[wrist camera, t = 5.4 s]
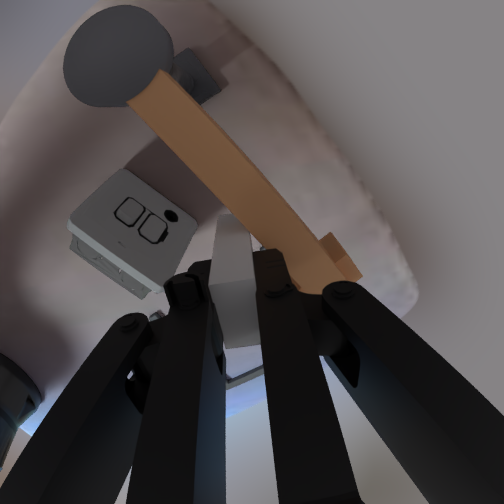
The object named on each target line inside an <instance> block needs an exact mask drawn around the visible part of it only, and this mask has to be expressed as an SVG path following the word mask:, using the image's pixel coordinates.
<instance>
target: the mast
mask: <svg viewBox="0 0 504 504" xmlns="http://www.w3.org/2000/svg"><path fill="white" fill-rule="evenodd" d="M169 75H170V76H171V77H172V78H173V79H174V80H175V81H176V82H177V83H178V84H179V85H180V86H181V87H182V88H183V89H184V90H185V91H186V92H187V93H188V94H189V95H190V96H191V97H192V98H193V99H194V100H195V101H196V102H197V103H198V104H199V105H201V104H202V103H204V102H205V101H207V100H208V99H210V98H211V97H213V96H214V95H216V94H217V93H219V92H220V91H221V90H220V88H219V87H218V85H217V84H216V83H215V81H214V80H213V79H212V77H211V76H210V75H209V73H208V72H207V71H206V69H205V68H204V67H203V65H202V64H201V63H200V62H199V60H198V59H197V58H196V56H195V55H194V54H193V52H192V51H191V50H190V49H189V47H188V48H187V49H185V50H184V51H183V52H181V53H180V54H178V55H177V56H175V57H174V58H173V63H172V67H171V70H170V72H169Z"/></svg>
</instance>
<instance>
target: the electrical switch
mask: <svg viewBox="0 0 504 504" xmlns="http://www.w3.org/2000/svg"><path fill="white" fill-rule="evenodd" d="M197 227H198V225H197V222H196V220H195V219H194V218H192V217H191V216H190V215H188V214H187V213H186V212H184V211H183V210H182V209H180V208H179V207H177V206H176V205H175V204H173V203H172V202H171V201H169V200H168V199H166V198H165V197H164V196H162V195H161V194H160V193H158V192H157V191H156V190H154V189H153V188H151V187H150V186H149V185H147V184H146V183H145V182H143V181H142V180H141V179H139V178H138V177H136V176H135V175H134V174H132V173H131V172H130V171H128V170H127V169H119V170H118V171H117V172H116V173H115V174H114V175H112V176H111V177H110V178H109V179H108V180H107V181H106V182H105V183H103V184H102V185H101V186H100V187H99V188H98V189H97V190H96V191H95V192H94V193H93V194H91V195H90V196H89V197H88V198H87V199H86V200H85V201H84V202H83V203H82V204H81V205H80V206H79V207H78V208H77V209H76V210H75V211H74V212H73V213H72V214H71V215H70V217H69V220H68V222H67V229H68V230H70V231H71V232H72V233H73V239H72V242H71V245H70V248H69V249H71V250H72V251H73V252H75V253H76V254H77V255H79V256H80V257H81V258H83V259H84V260H85V261H87V262H88V263H89V264H91V265H92V266H94V267H95V268H96V269H98V270H99V271H100V272H102V273H103V274H105V275H106V276H107V277H109V278H110V279H112V280H113V281H115V282H116V283H118V284H119V285H120V286H122V287H123V288H125V289H126V290H128V291H129V292H131V293H132V294H134V295H135V296H137V297H138V298H140V299H141V300H142V299H143V298H145V296H146V295H147V294H148V293H149V292H150V291H152V290H153V291H154V292H156V293H161V292H164V288H163V285H164V283H165V282H166V281H167V280H168V279H169V278H171V277H173V276H174V274H175V272H176V269H177V267H178V265H179V263H180V261H181V259H182V257H183V255H184V253H185V251H186V249H187V247H188V245H189V243H190V241H191V239H192V237H193V235H194V233H195V231H196V229H197ZM101 257H102V259H101ZM119 269H122V270H121V272H120V273H119ZM132 289H134V290H132Z"/></svg>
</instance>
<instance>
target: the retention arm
mask: <svg viewBox="0 0 504 504" xmlns="http://www.w3.org/2000/svg"><path fill="white" fill-rule="evenodd" d="M173 57H174V49H173V43H172V39H171V37H170V35H169V33H168V32H167V30H166V29H165V28H164V27H163V26H162V25H161V24H160V23H159V21H158V20H157V19H156V18H155V17H154V16H153V15H152V14H151V13H149V12H148V11H146V10H144V9H142V8H140V7H136V6H131V5H119V6H114V7H110V8H107V9H104V10H102V11H100V12H98V13H96V14H94V15H93V16H91V17H90V18H89V19H88V20H86V21H85V22H84V23H83V24H82V25H81V26H80V27H79V28H78V30H77V31H76V32H75V34H74V35H73V37H72V38H71V40H70V42H69V44H68V47H67V49H66V53H65V56H64V63H63V71H64V78H65V81H66V84H67V86H68V88H69V90H70V92H71V93H72V94H73V95H74V96H75V97H76V98H77V99H78V100H80V101H81V102H83V103H85V104H87V105H90V106H94V107H126V106H130V107H131V108H132V109H133V110H134V111H135V112H136V113H137V114H138V115H139V116H140V117H141V118H142V119H143V120H144V121H145V123H146V124H147V125H148V126H149V127H150V128H151V129H152V130H153V131H154V132H155V133H156V134H157V135H158V136H159V137H160V138H161V139H162V140H163V141H164V142H165V143H166V144H167V145H168V146H169V147H170V148H171V149H172V151H173V152H174V153H175V154H176V155H177V156H178V157H179V158H180V159H181V160H182V161H183V162H184V163H185V164H186V165H187V166H188V167H189V168H190V169H191V170H192V171H193V172H194V174H195V175H196V176H197V177H198V178H199V179H200V180H201V181H202V182H203V183H204V184H205V185H206V186H207V187H208V188H209V189H210V190H211V191H212V192H213V193H214V195H215V196H216V197H217V198H218V199H219V200H220V201H221V202H222V203H223V204H224V205H225V206H226V207H227V208H228V209H229V210H230V211H231V213H232V214H233V215H234V216H235V217H236V218H237V219H238V220H239V221H240V222H241V223H242V224H243V225H244V226H245V227H246V228H247V230H248V231H249V232H250V233H251V234H252V235H253V236H254V237H255V238H256V239H257V240H258V241H259V242H260V243H261V244H262V246H263V247H264V248H265V249H266V250H267V249H274V248H276V249H278V250H279V251H281V252H282V253H283V256H284V260H285V262H286V265H287V269H288V272H289V275H290V278H291V281H292V283H293V284H295V286H296V287H297V290H299V291H301V292H303V293H307V294H322V290H323V288H324V287H325V286H326V285H328V284H330V283H332V282H336V281H342V280H343V281H344V280H345V281H352V282H356V281H357V280H359V279H360V278H361V277H363V276H362V274H361V273H360V271H359V270H358V268H357V267H356V265H355V264H354V263H353V261H352V260H351V258H350V257H349V255H348V254H347V253H346V251H345V250H344V248H343V247H342V246H341V245H340V243H339V242H338V241H337V239H336V238H335V237H334V235H333V234H332V233H331V232H329V233H328V234H327V235H326V236H324V237H323V238H322V239H320V240H319V241H318V239H317V238H316V237H315V236H314V234H313V233H312V232H311V231H310V229H309V228H308V227H307V226H306V225H305V223H304V222H303V221H302V220H301V219H300V217H299V216H298V215H297V214H296V213H295V211H294V210H293V209H292V208H291V207H290V205H289V204H288V203H287V202H286V201H285V199H284V198H283V197H282V196H281V195H280V194H279V192H278V191H277V190H276V189H275V188H274V187H273V185H272V184H271V183H270V182H269V181H268V180H267V179H266V177H265V176H264V175H263V174H262V173H261V172H260V171H259V169H258V168H257V167H256V166H255V165H254V164H253V163H252V162H251V160H250V159H249V158H248V157H247V156H246V155H245V154H244V153H243V151H242V150H241V149H240V148H239V147H238V146H237V145H236V144H235V143H234V142H233V140H232V139H231V138H230V137H229V136H228V135H227V134H226V133H225V132H224V131H223V130H222V128H221V127H220V126H219V125H218V124H217V123H216V122H215V121H214V120H213V119H212V118H211V117H210V116H209V115H208V114H207V113H206V111H205V110H204V109H203V108H202V107H201V106H200V105H199V104H198V103H197V102H196V101H195V100H194V99H193V98H192V97H191V96H190V95H189V94H188V93H187V92H186V91H185V90H184V89H183V88H182V87H181V86H180V85H179V84H178V83H177V82H176V81H175V80H174V79H173V78H172V77H171V76H170V75H169V72H170V70H171V67H172V63H173Z"/></svg>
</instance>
